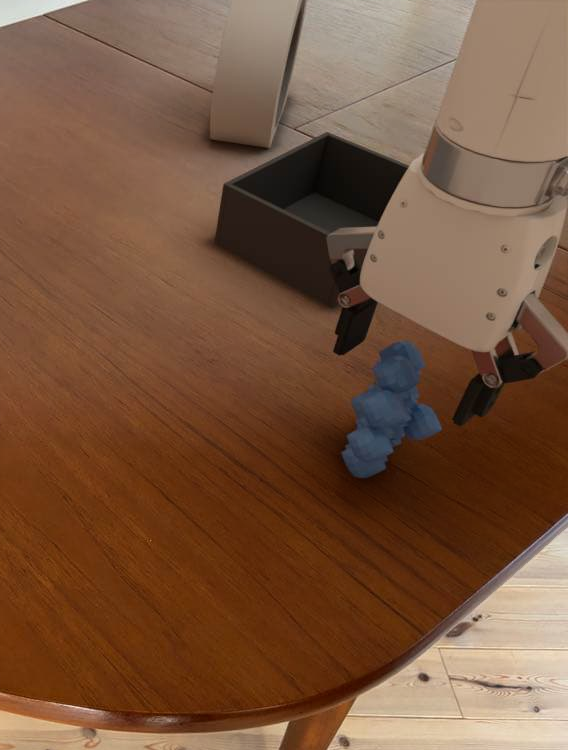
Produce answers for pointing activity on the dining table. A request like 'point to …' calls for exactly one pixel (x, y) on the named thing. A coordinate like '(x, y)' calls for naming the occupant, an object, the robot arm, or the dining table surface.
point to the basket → (305, 209)
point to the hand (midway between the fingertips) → (405, 379)
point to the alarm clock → (255, 69)
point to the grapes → (388, 411)
